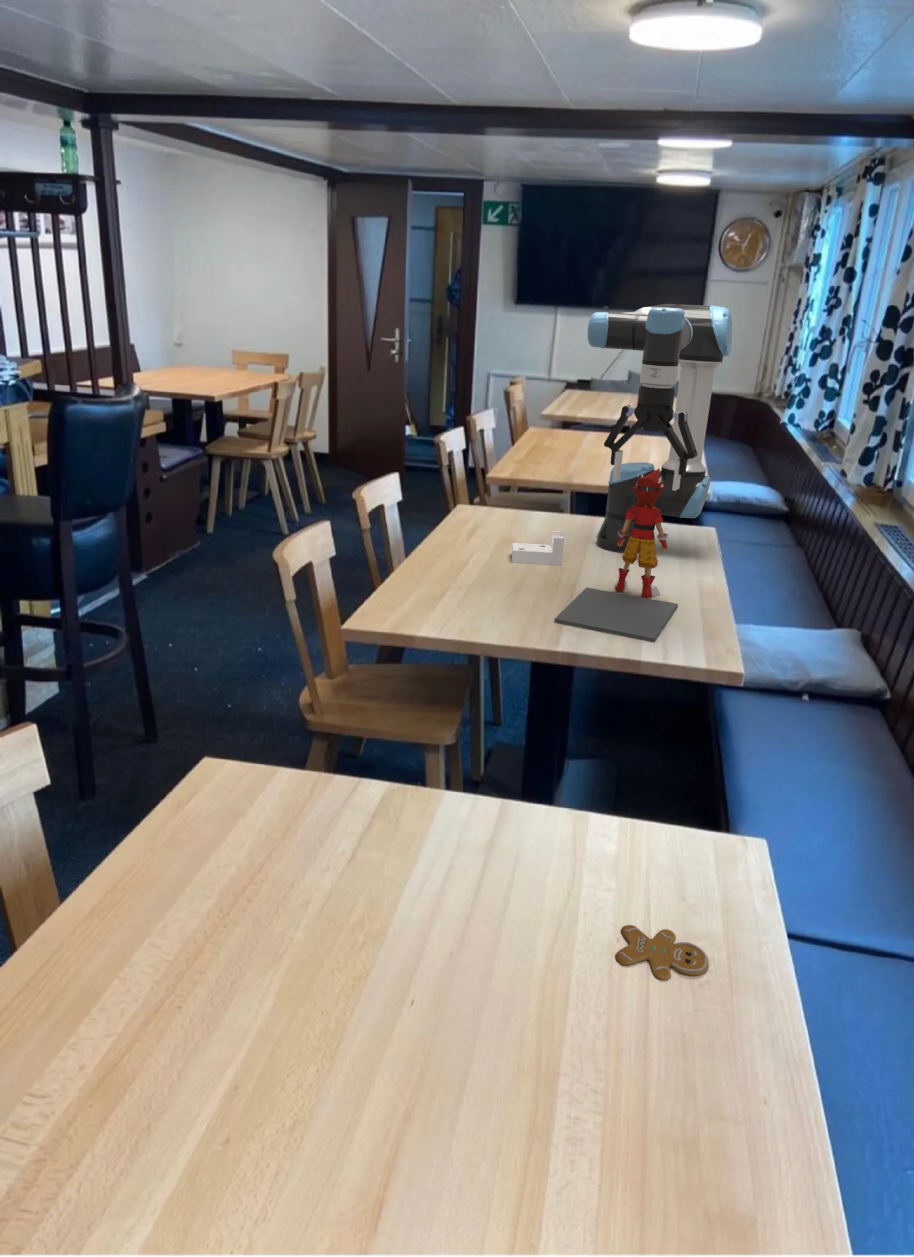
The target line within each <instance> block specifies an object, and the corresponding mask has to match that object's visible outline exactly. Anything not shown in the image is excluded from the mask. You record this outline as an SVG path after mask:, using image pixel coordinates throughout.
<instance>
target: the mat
mask: <svg viewBox="0 0 914 1257" xmlns="http://www.w3.org/2000/svg"><path fill="white" fill-rule="evenodd" d="M678 605H679V604H678V603H676V602H670V601H664V600H659V599H654V598H643V597H641V596H636V595H633V594H632V595H631V594H627V593H626V594H625V593H622V592H620V593H619V592H614V591H609V590H603V589H597V588H592V587H585V588H584V590H582V591H581V592H580V593H579V594H578V595H577V596H576V597H575V598H574V599H572V601H571V602H570V603H569V604H568V605H567V606H566V607H565V608H564V609H563V610H562V611H561V612H560V613H559V614H558V615H557V616H556V617H555V618H554V623H557V624H561V625H567V626H572V627H577V628H581V629H587V630H592V631H596V632H597V631H598V632H603V633H606V634H607V633H609V634H612V635H618V636H622V637H627V638H632V639H633V638H634V639H637V640H638V639H639V640H642V641H643V640H644V641H646V642H653V643H655V641H656V640H657V638H658V637H659V635H661V632H662V630H664V628H665V627H666V625H668V622H669V620H670V619H671V618H672V616H673V614H674V612H676V611H677V609H678Z"/></svg>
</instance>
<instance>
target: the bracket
mask: <svg viewBox="0 0 914 1257" xmlns="http://www.w3.org/2000/svg"><path fill="white" fill-rule="evenodd" d="M551 534H552V536H551V544H544V543H543V544H542V543H541V544H540V543H522V542H512V544H511V545H512V546H511V556H512V557H511V563H512V564H513V563H515V564H531V565H532V564H533V565H534V564H535V565H554V566H562V565H563V556H564V555H563V553H564V544H565V537H563V530H552V533H551Z"/></svg>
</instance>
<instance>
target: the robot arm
mask: <svg viewBox="0 0 914 1257" xmlns="http://www.w3.org/2000/svg"><path fill="white" fill-rule="evenodd" d="M732 321H733V319H732V314H731V311H730V310H729V309H728V308H727V307H722V306H717V305H712V304H711V305H703V304H702V305H700V304H697V305H696V304H679V303H678V304H677V303H666V304H665V303H664V304H657V305H651V306H646V307H641V308H639V309H637V310H635V311H631V312H630V311H629V312H628V311H627V312H609V311H608V312H607V311H602V312H601V311H599V312H594V313H593V314H591V316H590V319H589V322H588V326H587V342H588V344H589V345H590V346H591V347H593V348H598V349H599V348H600V349H612V350H629V351H631V350H632V351H639V352H641V351H642V353H643V354H642V361H641V366H640V367H641V368H640V379H639V383H641V384H642V385H640V386H639V387H638V395H637V402H636V407H633V406H631V405H630V404H627V405H624V406H622V408H621V411H620V412H621V413H620V416H619V418H618V420H617V421H616V423H615V424H614V426H613V428H612V429H611V431H610V433H609V434H608V436H607V437H606V439H605V441H604V443H603V446H604V447H605V448H608V449H610V451H611V454H610V465H611V466H613V467H612V468H611V471H610V475H609V481H608V489H607V490H608V491H607V501H606V507H605V508H606V510H605V517H604V520H603V521H602V523H601V526H600V529H599V530H598V533H597V536H596V545H597V546H598V547H600V548H602V549H605V550H608V551H612V552H618V553H624V551H625V548H626V546H627V543H628V540H629V537H630V535H631V532H632V530H633V527H634V522H635V521H634V520H633V519H632V521H631V524H630V526H629V528H628V533H629V534H628V535H627V536H626V537H625V538H624V542H623V545H622V546H620V547H619V546H618V545H617V543H618V540H619V535H618V533H617V532H619V531H620V530H621V529H622V528H623V527H624V524H625V520H626V519H625V517H626V513H627V509H629V508H631V507H633V506H635V505H636V504H637V500H638V498H637V496H636V494H635V492H634V490H633V488H632V487H636V486H637V485H636V484H637V480H638V477H639V474H640V477H642V475H643V477H644V476H646V475H648V474H650V473H652V472H653V471H655V470H656V469H655V465H654V464H653V463H651V462H643V461H642V462H641V461H640V462H639V461H638V462H637V461H636V462H626V463H623V454H624V450H622V449H621V448H622V447H623V445H625V444H626V443H627V442H628V441H629V440H630V439H631V438H632V437H633V436H635V435H636V433H637V432H638V431H639V430H640V429H643V430H644V431H650V430H651V431H653V432H660V431H661V432H662V434H663V435H664V436H665V437H666V439H667V441H668V442H669V444H670V447H669V453H668V459H667V460H666V461H665V462H663V463H662V464H661V470H660V471H659V478H660V477H661V476H662V478H661V481H660V482H662V481H663V483H662V484H663V486H664V488H663V489H662V491H661V493H660V494H659V496H658V497H657V499H656V501H655V503H654V505H653V507H656V508H658V509H660V512H661V515H664V516H671V517H677V518H680V519H681V518H685V519H695V518H697V517H699V515H700V514H701V512H702V510H703V507H704V505H705V502H706V499H707V496H708V493H709V489H710V486H711V477H710V476H709V475H706V473H707V468H706V466H704V464H703V463H702V459H703V453H704V452H703V451H704V446H705V441H706V440H705V439H706V431H707V427H708V425H707V424H708V419H709V412H710V406H711V399H712V392H713V386H714V380H715V373H716V369H717V368H718V367H720V365H722V364H723V360H724V357H727V356H728V357H729V355H730V354H731V351H732V350H731V349H732V342H733V322H732ZM679 366H680V374H679V379H678V373H679V372H678V371H679ZM677 380H679V381H678V388H677V395H676V402H675V393H676V389H675V387H674V386H675V385H676V384H677ZM674 402H675V410H674ZM633 414H634V416H635V418H636V420H637V421H636V422H634V424H633V425H631V427H630V428H629V429H628V430H627V431H626V432H625V433H624V434H623V435H622V436H621V437H620V438H619V439H618V440H617V441H616V439H617V438H618V437H619V434H620V433H621V431H622V430H623V429H624V426H625V425H626V423H627V421H628V420H629V418H630V417H632V416H633ZM672 420H673V424H671V422H672ZM615 441H616V442H615ZM641 505H643V504H641ZM639 550H640V548H639ZM639 550H638V553H639Z"/></svg>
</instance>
